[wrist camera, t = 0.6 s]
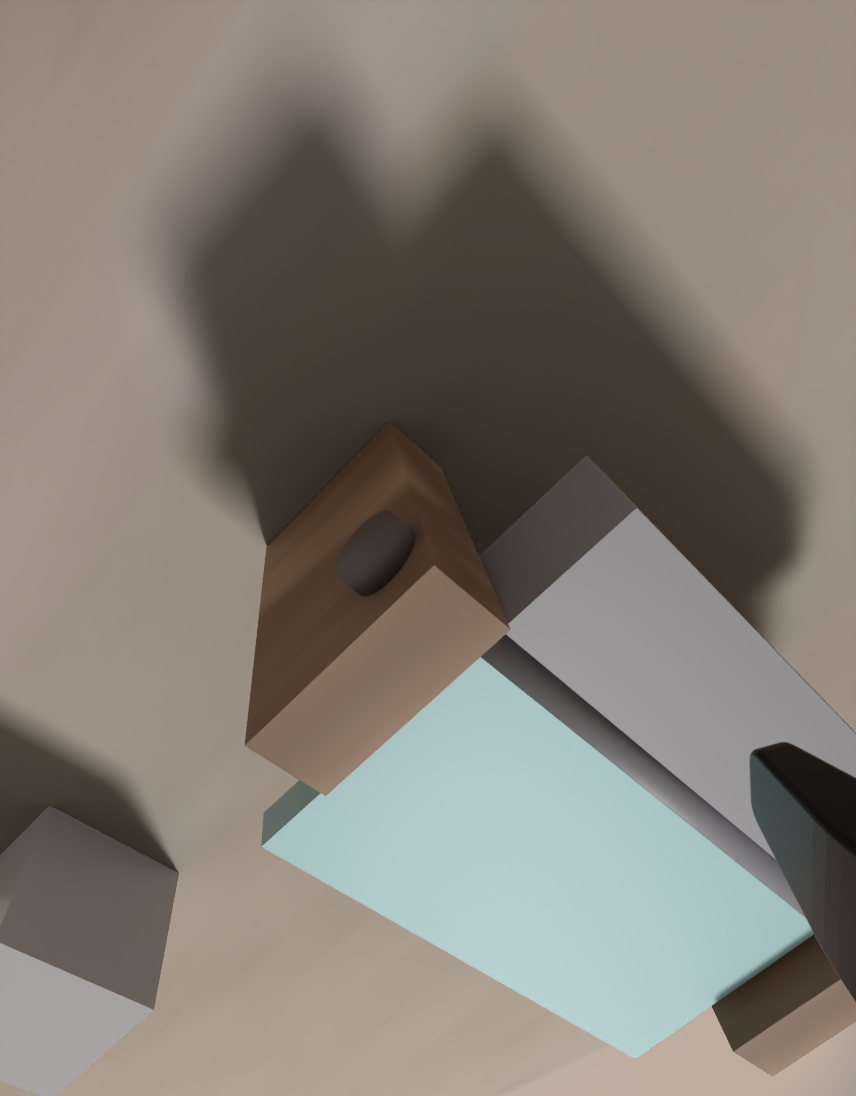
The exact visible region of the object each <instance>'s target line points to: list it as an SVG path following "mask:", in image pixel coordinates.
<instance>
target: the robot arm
mask: <svg viewBox="0 0 856 1096" xmlns="http://www.w3.org/2000/svg"><path fill="white" fill-rule="evenodd" d="M749 766H750V794H751V806H752V810H753V814H754V817H755V819H756V822H757V824H758V826H759V828H760V830H761V832H762V834H763V836H764V838H765V839H766V841H767V843H768V845H769V847H770V849H771V851H772V853H773V855H774V857H775V859H776V861H777V863H778V865H779V867H780V869H781V871H782V873H783V875H784V877H785V878H786V880H787V882H788V884H789V886H790V888H791V890H792V892H793V894H794V896H795V898H796V900H797V902H798V904H799V906H800V908H801V910H802V912H803V914H804V916H805V917H806V919H807V921H808V923H809V925H810V927H811V929H812V931H813V933H814V935H815V937H816V939H817V940H818V942H819V944H820V946H821V948H822V950H823V951H824V953H825V955H826V956H827V958H828V960H829V961H830V963H831V964H832V966H833V968H834V969H835V971H836V973H837V974H838V976H839V977H840V979H841V980H842V982H843V983H844V985H845V987H846V988H847V990H848V991H849V993H850V994H851V996H852V997H853V999H854V1000H855V1002H856V778H855V777H853V776H852V775H850V774H848V773H846V772H844V771H842V770H840V769H838V768H837V767H835V766H833V765H831V764H829V763H827V762H825V761H823V760H822V759H820V758H818V757H816V756H814V755H812V754H810V753H808V752H807V751H805V750H803V749H801V748H799V747H797V746H795V745H793V744H791V743H787V742H780V743H776V744H772V745H768V746H765V747H761V748H757V749H755V750H753V751H752V752H751V755H750V759H749Z"/></svg>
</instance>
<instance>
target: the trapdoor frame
mask: <svg viewBox="0 0 856 1096" xmlns="http://www.w3.org/2000/svg"><path fill="white" fill-rule="evenodd" d="M510 630H511V629H510V627H509V624H508V622H507V620H506V617H505V615H504V613H503V610H502V608H501V606H500V603H499V601H498V599H497V597H496V594H495V592H494V590H493V587H492V585H491V583H490V580H489V578H488V576H487V573H486V571H485V569H484V566H483V564H482V562H481V559H480V557H479V555H478V552H477V550H476V548H475V545H474V543H473V541H472V538H471V536H470V534H469V531H468V529H467V527H466V524H465V522H464V520H463V517H462V515H461V513H460V510H459V508H458V506H457V503H456V501H455V499H454V496H453V494H452V492H451V490H450V487H449V485H448V483H447V480H446V478H445V476H444V473H443V471H442V469H441V467H440V466H439V465H437V464H436V463H435V462H434V461H433V460H432V459H431V458H430V457H429V456H428V455H427V454H425V453H424V452H423V451H422V450H421V449H420V448H419V447H418V446H417V445H416V444H415V443H413V442H412V441H411V440H410V439H409V438H408V437H407V436H406V435H405V434H404V433H403V432H401V431H400V430H399V429H398V428H397V427H396V426H395V425H394V424H393V423H392V422H390V421H388V422H387V423H386V424H385V425H384V426H383V428H382V429H381V430H380V431H379V432H378V433H377V434H376V435H375V436H374V437H373V438H372V439H371V440H370V441H369V442H368V443H367V444H366V445H365V446H364V447H363V448H362V449H361V450H360V451H359V452H358V453H357V454H356V455H355V456H354V457H353V458H352V459H351V461H350V462H349V463H348V464H347V465H346V466H345V467H344V468H343V469H342V470H341V471H340V472H339V473H338V474H337V475H336V476H335V477H334V478H333V479H332V480H331V481H330V482H329V483H328V484H327V485H326V486H325V487H324V488H323V489H322V490H321V491H320V492H319V493H318V495H317V496H316V497H315V498H314V499H313V500H312V501H311V502H310V503H309V504H308V505H307V506H306V507H305V508H304V509H303V510H302V511H301V512H300V513H299V514H298V515H297V516H296V517H295V518H294V519H293V520H292V521H291V522H290V523H289V524H288V525H287V526H286V528H285V529H284V530H283V531H282V532H281V533H280V534H279V535H278V536H277V537H276V538H275V539H274V540H273V541H272V542H271V543H270V544H269V545H268V546H267V548H266V557H265V566H264V575H263V584H262V593H261V603H260V612H259V621H258V630H257V639H256V648H255V657H254V666H253V675H252V685H251V694H250V703H249V712H248V721H247V730H246V739H245V746H246V747H248V748H249V749H251V750H253V751H254V752H256V753H257V754H259V755H260V756H262V757H264V758H265V759H267V760H268V761H270V762H272V763H273V764H275V765H276V766H278V767H280V768H281V769H283V770H284V771H286V772H288V773H289V774H291V775H292V776H294V777H296V778H297V779H299V780H300V781H302V782H304V783H305V784H307V785H308V786H310V787H312V788H313V789H315V790H316V791H318V792H320V793H321V794H323V795H324V796H326V795H328V794H329V793H330V792H331V791H332V790H333V789H334V788H335V787H336V786H338V785H339V784H340V783H341V782H342V781H343V780H344V779H345V778H346V777H348V776H349V775H350V774H351V773H352V772H353V771H354V770H355V769H356V768H358V767H359V766H360V765H361V764H362V763H363V762H364V761H365V760H366V759H368V758H369V757H370V756H371V755H372V754H373V753H374V752H375V751H376V750H378V749H379V748H380V747H381V746H382V745H383V744H384V743H385V742H386V741H388V740H389V739H390V738H391V737H392V736H393V735H394V734H395V733H396V732H398V731H399V730H400V729H401V728H402V727H403V726H404V725H405V724H406V723H408V722H409V721H410V720H411V719H412V718H413V717H414V716H415V715H417V714H418V713H419V712H420V711H421V710H422V709H423V708H424V707H425V706H427V705H428V704H429V703H430V702H431V701H432V700H433V699H434V698H435V697H437V696H438V695H439V694H440V693H441V692H442V691H443V690H444V689H445V688H447V687H448V686H449V685H450V684H451V683H452V682H453V681H454V680H455V679H457V678H458V677H459V676H460V675H461V674H462V673H463V672H464V671H465V670H467V669H468V668H469V667H470V666H471V665H472V664H473V663H474V662H475V661H477V660H478V659H479V658H480V657H481V656H482V655H483V654H484V653H485V652H487V651H488V650H489V649H490V648H491V647H492V646H493V645H494V644H495V643H497V642H498V641H499V640H500V639H501V638H502V637H503V636H504V635H505V634H507V633H508V632H509V631H510ZM712 1008H713V1010H714V1012H715V1014H716V1016H717V1018H718V1021H719V1023H720V1025H721V1027H722V1029H723V1031H724V1033H725V1035H726V1037H727V1039H728V1041H729V1044H730V1046H731V1048H732V1050H733V1052H735V1053H736V1054H738V1055H740V1056H741V1057H743V1058H744V1059H746V1060H747V1061H749V1062H751V1063H752V1064H754V1065H756V1066H757V1067H758V1068H760V1069H762V1070H763V1071H765V1072H766V1073H768V1074H770V1075H771V1076H774V1075H775V1074H777V1073H778V1072H780V1071H781V1070H783V1069H784V1068H786V1067H788V1066H789V1065H790V1064H792V1063H793V1062H795V1061H796V1060H798V1059H799V1058H801V1057H802V1056H804V1055H806V1054H807V1053H809V1052H810V1051H812V1050H813V1049H815V1048H816V1047H818V1046H819V1045H821V1044H822V1043H824V1042H826V1041H827V1040H829V1039H830V1038H832V1037H833V1036H835V1035H836V1034H838V1033H839V1032H841V1031H842V1030H844V1029H845V1028H847V1027H848V1026H850V1025H851V1024H853V1023H854V1022H856V1002H855V1000H854V999H853V997H852V996H851V994H850V993H849V991H848V990H847V988H846V987H845V985H844V983H843V982H842V980H841V979H840V977H839V976H838V974H837V973H836V971H835V969H834V968H833V966H832V964H831V963H830V961H829V960H828V958H827V956H826V955H825V953H824V951H823V950H822V948H821V946H820V944H819V942H818V940H817V939H816V937H815V935H812V936H811V937H810V938H808V939H807V940H805V941H804V942H802V943H801V944H800V945H798V946H797V947H795V948H794V949H792V950H791V951H789V952H788V953H787V954H785V955H784V956H782V957H781V958H779V959H778V960H777V961H775V962H774V963H772V964H771V965H769V966H768V967H767V968H765V969H764V970H762V971H761V972H759V973H758V974H756V975H755V976H754V977H752V978H751V979H749V980H748V981H746V982H745V983H744V984H742V985H741V986H739V987H738V988H736V989H735V990H734V991H732V992H731V993H729V994H728V995H726V996H725V997H723V998H722V999H721V1000H719V1001H718V1002H716V1003H715V1004H713V1005H712Z"/></svg>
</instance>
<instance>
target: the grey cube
mask: <svg viewBox="0 0 856 1096" xmlns="http://www.w3.org/2000/svg"><path fill="white" fill-rule="evenodd" d="M178 875H179V873H178V872H176V871H174V870H172V869H170V868H168V867H166V866H165V865H163V864H161V863H159V862H157V861H155V860H153V859H151V858H149V857H147V856H146V855H144V854H142V853H140V852H138V851H136V850H134V849H132V848H130V847H128V846H126V845H125V844H123V843H121V842H119V841H117V840H115V839H113V838H111V837H109V836H107V835H105V834H104V833H102V832H100V831H98V830H96V829H94V828H92V827H90V826H88V825H86V824H84V823H83V822H81V821H79V820H77V819H75V818H73V817H71V816H69V815H67V814H65V813H63V812H62V811H60V810H58V809H56V808H54V807H52V806H50V805H49V806H48V807H47V808H46V809H45V810H44V811H43V812H42V813H41V814H40V815H39V816H38V817H37V818H36V819H35V820H34V822H33V823H32V824H31V825H30V826H29V827H28V828H27V829H26V830H25V831H24V832H23V833H22V834H21V835H20V836H19V837H18V838H17V839H16V840H15V841H14V842H13V843H12V844H11V845H10V846H9V847H8V848H7V849H6V850H5V851H4V852H3V853H2V854H1V855H0V1082H3V1083H6V1084H9V1085H12V1086H14V1087H17V1088H20V1089H23V1090H25V1091H28V1092H31V1093H34V1094H37V1095H39V1096H55V1095H57V1094H58V1093H59V1092H60V1091H61V1090H62V1089H63V1088H65V1087H66V1086H67V1085H68V1084H69V1083H70V1082H71V1081H73V1080H74V1079H75V1078H76V1077H77V1076H78V1075H80V1074H81V1073H82V1072H83V1071H84V1070H85V1069H86V1068H88V1067H89V1066H90V1065H91V1064H92V1063H93V1062H94V1061H96V1060H97V1059H98V1058H99V1057H100V1056H101V1055H102V1054H104V1053H105V1052H106V1051H107V1050H108V1049H109V1048H111V1047H112V1046H113V1045H114V1044H115V1043H116V1042H117V1041H119V1040H120V1039H121V1038H122V1037H123V1036H124V1035H125V1034H127V1033H128V1032H129V1031H130V1030H131V1029H132V1028H133V1027H135V1026H136V1025H137V1024H138V1023H139V1022H140V1021H141V1020H143V1019H144V1018H145V1017H146V1016H147V1015H148V1014H150V1013H151V1012H152V1011H153V1010H154V1006H155V1000H156V995H157V989H158V984H159V979H160V973H161V968H162V962H163V957H164V951H165V946H166V940H167V935H168V930H169V924H170V919H171V913H172V908H173V902H174V897H175V892H176V886H177V881H178Z"/></svg>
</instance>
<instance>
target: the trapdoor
mask: <svg viewBox="0 0 856 1096" xmlns="http://www.w3.org/2000/svg"><path fill="white" fill-rule="evenodd" d="M479 557H480V559H481V562H482V564H483V566H484V569H485V571H486V573H487V576H488V578H489V580H490V583H491V585H492V587H493V590H494V592H495V594H496V597H497V599H498V601H499V603H500V606H501V608H502V610H503V613H504V615H505V617H506V620H507V622H508V624H509V627H510V629H511V630H510V631H509V632H508V633H507V634H505V635H504V636H503V637H502V638H501V639H500V640H499V641H498V642H497V643H495V644H494V645H493V646H492V647H491V648H490V649H489V650H488V651H487V652H485V653H484V654H483V655H482V656H481V657H480V658H479V659H478V660H477V661H475V662H474V663H473V664H472V665H471V666H470V667H469V668H468V669H467V670H465V671H464V672H463V673H462V674H461V675H460V676H459V677H458V678H457V679H455V680H454V681H453V682H452V683H451V684H450V685H449V686H448V687H447V688H445V689H444V690H443V691H442V692H441V693H440V694H439V695H438V696H437V697H435V698H434V699H433V700H432V701H431V702H430V703H429V704H428V705H427V706H425V707H424V708H423V709H422V710H421V711H420V712H419V713H418V714H417V715H415V716H414V717H413V718H412V719H411V720H410V721H409V722H408V723H406V724H405V725H404V726H403V727H402V728H401V729H400V730H399V731H398V732H396V733H395V734H394V735H393V736H392V737H391V738H390V739H389V740H388V741H386V742H385V743H384V744H383V745H382V746H381V747H380V748H379V749H378V750H376V751H375V752H374V753H373V754H372V755H371V756H370V757H369V758H368V759H366V760H365V761H364V762H363V763H362V764H361V765H360V766H359V767H358V768H356V769H355V770H354V771H353V772H352V773H351V774H350V775H349V776H348V777H346V778H345V779H344V780H343V781H342V782H341V783H340V784H339V785H338V786H336V787H335V788H334V789H333V790H332V791H331V792H330V793H329V794H328V795H326V796H324V795H323V794H321V793H320V792H318V791H316V790H315V789H313V788H312V787H310V786H308V785H307V784H305V783H304V782H302V781H300V780H299V781H298V782H297V783H296V784H295V785H294V786H293V787H291V788H290V789H289V790H288V791H287V792H286V793H285V794H284V795H283V796H282V797H281V798H279V799H278V800H277V801H276V802H275V803H274V804H273V805H272V806H271V807H270V808H269V809H267V810H266V811H265V812H264V817H263V831H262V846H261V847H263V848H265V849H266V850H268V851H270V852H272V853H273V854H275V855H277V856H279V857H280V858H282V859H284V860H286V861H287V862H289V863H291V864H293V865H294V866H296V867H298V868H300V869H302V870H303V871H305V872H307V873H309V874H310V875H312V876H314V877H316V878H317V879H319V880H321V881H323V882H324V883H326V884H328V885H330V886H331V887H333V888H335V889H337V890H338V891H340V892H342V893H344V894H345V895H347V896H349V897H351V898H353V899H354V900H356V901H358V902H360V903H361V904H363V905H365V906H367V907H368V908H370V909H372V910H374V911H375V912H377V913H379V914H381V915H382V916H384V917H386V918H388V919H389V920H391V921H393V922H395V923H396V924H398V925H400V926H402V927H404V928H405V929H407V930H409V931H411V932H412V933H414V934H416V935H418V936H419V937H421V938H423V939H425V940H426V941H428V942H430V943H432V944H433V945H435V946H437V947H439V948H440V949H442V950H444V951H446V952H447V953H449V954H451V955H453V956H455V957H456V958H458V959H460V960H462V961H463V962H465V963H467V964H469V965H470V966H472V967H474V968H476V969H477V970H479V971H481V972H483V973H484V974H486V975H488V976H490V977H491V978H493V979H495V980H497V981H498V982H500V983H502V984H504V985H506V986H507V987H509V988H511V989H513V990H514V991H516V992H518V993H520V994H521V995H523V996H525V997H527V998H528V999H530V1000H532V1001H534V1002H535V1003H537V1004H539V1005H541V1006H542V1007H544V1008H546V1009H548V1010H549V1011H551V1012H553V1013H555V1014H557V1015H558V1016H560V1017H562V1018H564V1019H565V1020H567V1021H569V1022H571V1023H572V1024H574V1025H576V1026H578V1027H579V1028H581V1029H583V1030H585V1031H586V1032H588V1033H590V1034H592V1035H593V1036H595V1037H597V1038H599V1039H600V1040H602V1041H604V1042H606V1043H608V1044H609V1045H611V1046H613V1047H615V1048H616V1049H618V1050H620V1051H622V1052H624V1053H625V1054H627V1055H629V1056H631V1057H632V1058H634V1059H636V1058H637V1057H638V1056H640V1055H642V1054H643V1053H644V1052H646V1051H647V1050H649V1049H650V1048H652V1047H653V1046H654V1045H656V1044H657V1043H659V1042H660V1041H662V1040H663V1039H665V1038H666V1037H667V1036H669V1035H670V1034H672V1033H673V1032H675V1031H676V1030H678V1029H679V1028H680V1027H682V1026H683V1025H685V1024H686V1023H688V1022H689V1021H691V1020H692V1019H693V1018H695V1017H696V1016H698V1015H699V1014H700V1013H702V1012H703V1011H705V1010H706V1009H708V1008H709V1007H711V1006H712V1005H713V1004H715V1003H716V1002H718V1001H719V1000H721V999H722V998H723V997H725V996H726V995H728V994H729V993H731V992H732V991H734V990H735V989H736V988H738V987H739V986H741V985H742V984H744V983H745V982H746V981H748V980H749V979H751V978H752V977H754V976H755V975H756V974H758V973H759V972H761V971H762V970H764V969H765V968H767V967H768V966H769V965H771V964H772V963H774V962H775V961H777V960H778V959H779V958H781V957H782V956H784V955H785V954H787V953H788V952H789V951H791V950H792V949H794V948H795V947H797V946H798V945H800V944H801V943H802V942H804V941H805V940H807V939H808V938H810V937H811V936H812V935H814V933H813V931H812V929H811V927H810V925H809V923H808V921H807V919H806V917H805V916H804V914H803V912H802V910H801V908H800V906H799V904H798V902H797V900H796V898H795V896H794V894H793V892H792V890H791V888H790V886H789V884H788V882H787V880H786V878H785V877H784V875H783V873H782V871H781V869H780V867H779V865H778V863H777V861H776V859H775V857H774V855H773V853H772V851H771V849H770V847H769V845H768V843H767V841H766V839H765V838H764V836H763V834H762V832H761V830H760V828H759V826H758V824H757V822H756V819H755V817H754V814H753V810H752V806H751V794H750V766H749V759H750V755H751V752H752V751H753V750H755V749H757V748H761V747H765V746H768V745H772V744H776V743H780V742H787V743H791V744H793V745H795V746H797V747H799V748H801V749H803V750H805V751H807V752H808V753H810V754H812V755H814V756H816V757H818V758H820V759H822V760H823V761H825V762H827V763H829V764H831V765H833V766H835V767H837V768H838V769H840V770H842V771H844V772H846V773H848V774H850V775H852V776H853V777H855V778H856V733H855V732H854V731H853V730H852V728H851V727H850V726H849V725H848V724H847V723H846V722H845V721H844V720H843V719H842V718H841V717H840V716H839V715H838V714H837V713H836V712H835V711H834V710H833V709H832V708H831V707H830V706H829V705H828V704H827V703H826V702H825V701H824V700H823V699H822V697H821V696H820V695H819V694H818V693H817V692H816V691H815V690H814V689H813V688H812V687H811V686H810V685H809V684H808V683H807V682H806V681H805V680H804V679H803V678H802V677H801V676H800V675H799V674H798V673H797V672H796V671H795V670H794V669H793V667H792V666H791V665H790V664H789V663H788V662H787V661H786V660H785V659H784V658H783V657H782V656H781V655H780V654H779V653H778V652H777V651H776V650H775V649H774V648H773V647H772V646H771V645H770V644H769V643H768V642H767V641H766V640H765V639H764V638H763V636H762V635H761V634H760V633H759V632H758V631H757V630H756V629H755V628H754V627H753V626H752V625H751V624H750V623H749V622H748V621H747V620H746V619H745V618H744V617H743V616H742V615H741V614H740V613H739V612H738V611H737V610H736V609H735V608H734V607H733V605H732V604H731V603H730V602H729V601H728V600H727V599H726V598H725V597H724V596H723V595H722V594H721V593H720V592H719V591H718V590H717V589H716V588H715V587H714V586H713V585H712V584H711V583H710V582H709V581H708V580H707V579H706V578H705V577H704V575H703V574H702V573H701V572H700V571H699V570H698V569H697V568H696V567H695V566H694V565H693V564H692V563H691V562H690V561H689V560H688V559H687V558H686V557H685V556H684V555H683V554H682V553H681V552H680V551H679V550H678V549H677V548H676V547H675V546H674V544H673V543H672V542H671V541H670V540H669V539H668V538H667V537H666V536H665V535H664V534H663V533H662V532H661V531H660V530H659V529H658V528H657V527H656V526H655V525H654V524H653V523H652V522H651V521H650V520H649V519H648V518H647V517H646V516H645V514H644V513H643V512H642V511H641V510H640V509H639V508H638V507H637V506H636V505H635V504H634V503H633V502H632V501H631V500H630V499H629V498H628V497H627V496H626V495H625V494H624V493H623V492H622V491H621V490H620V489H619V488H618V487H617V486H616V485H615V483H614V482H613V481H612V480H611V479H610V478H609V477H608V476H607V475H606V474H605V473H604V472H603V471H602V470H601V469H600V468H599V467H598V466H597V465H596V464H595V463H594V462H593V461H592V460H591V459H590V458H589V457H588V456H587V455H586V456H585V457H584V458H583V459H581V460H580V461H579V462H578V463H577V464H576V465H575V466H574V467H573V468H572V469H571V470H570V471H569V472H568V473H567V474H566V475H564V476H563V477H562V478H561V479H560V480H559V481H558V482H557V483H556V484H555V485H554V486H553V487H552V488H551V489H550V490H549V491H547V492H546V493H545V494H544V495H543V496H542V497H541V498H540V499H539V500H538V501H537V502H536V503H535V504H534V505H533V506H531V507H530V508H529V509H528V510H527V511H526V512H525V513H524V514H523V515H522V516H521V517H520V518H519V519H518V520H517V521H516V522H514V523H513V524H512V525H511V526H510V527H509V528H508V529H507V530H506V531H505V532H504V533H503V534H502V535H501V536H500V537H499V538H497V539H496V540H495V541H494V542H493V543H492V544H491V545H490V546H489V547H488V548H487V549H486V550H485V551H484V552H483V553H482V554H480V555H479Z"/></svg>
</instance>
